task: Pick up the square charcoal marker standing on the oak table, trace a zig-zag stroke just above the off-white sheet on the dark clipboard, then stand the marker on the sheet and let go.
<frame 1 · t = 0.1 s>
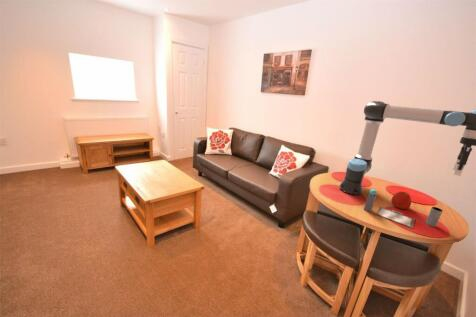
hand: (456, 172, 124), 28 cm above the table, fingers open, 13 cm apart
grey hollow cylinder: (430, 224, 119), on the table
apple: (399, 206, 137), on the table
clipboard: (394, 217, 124), on the table
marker: (367, 209, 130), on the table
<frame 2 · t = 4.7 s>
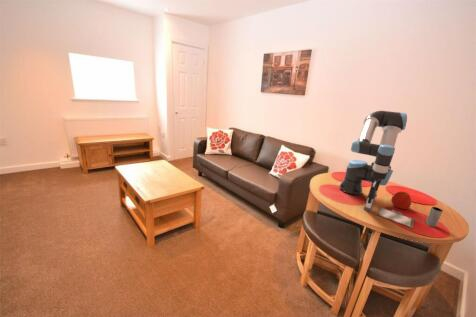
hand: (368, 206, 129), 3 cm above the table, fingers closed on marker, 4 cm apart
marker: (367, 209, 130), on the table, touching gripper
everything else where it was.
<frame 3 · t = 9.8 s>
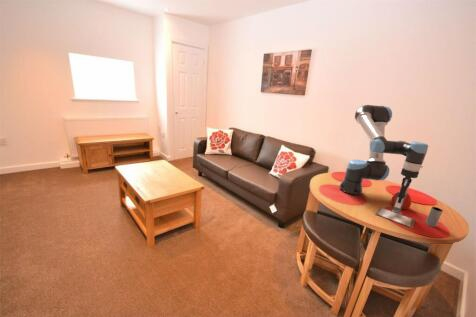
hand: (398, 206, 124), 6 cm above the table, fingers closed on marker, 4 cm apart
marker: (396, 209, 125), point 4 cm above the table, touching gripper
everything else where it was.
when the fingers open (5 cm above the table, at t = 14.9 s): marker drops 2 cm, resting on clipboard.
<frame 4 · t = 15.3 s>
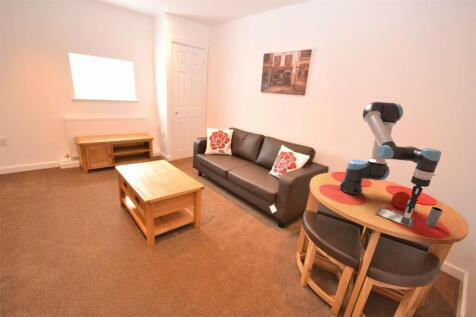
hand: (407, 213, 117), 6 cm above the table, fingers open, 10 cm apart
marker: (404, 222, 118), point 1 cm above the table, touching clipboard
everything else where it was.
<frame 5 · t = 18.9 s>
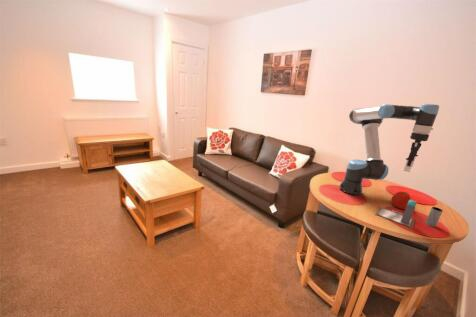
hand: (407, 168, 121), 29 cm above the table, fingers open, 13 cm apart
nothing on the table moved.
at the end: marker inside the target area on the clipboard (5.8 cm from its centre), point 0.5 cm above the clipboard's base; the gripper is holding nothing; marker moved 18.6 cm from its start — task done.
